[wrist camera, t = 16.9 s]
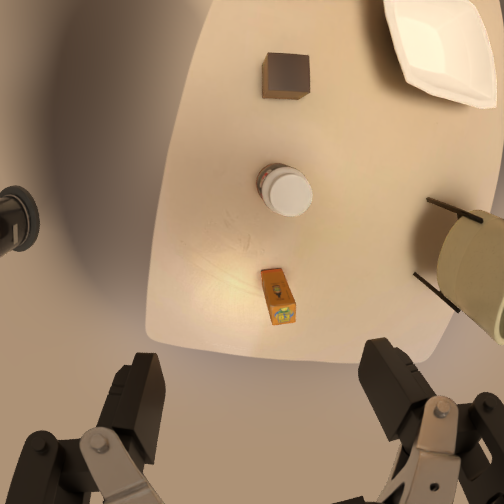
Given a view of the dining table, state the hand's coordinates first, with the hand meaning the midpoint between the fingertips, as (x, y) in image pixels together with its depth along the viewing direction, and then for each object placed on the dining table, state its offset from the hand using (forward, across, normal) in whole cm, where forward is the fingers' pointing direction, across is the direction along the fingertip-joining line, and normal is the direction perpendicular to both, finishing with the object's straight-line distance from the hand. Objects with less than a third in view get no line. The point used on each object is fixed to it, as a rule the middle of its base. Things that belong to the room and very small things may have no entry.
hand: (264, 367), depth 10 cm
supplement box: (+32, -5, +12) cm, 35 cm away
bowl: (+32, -30, -28) cm, 52 cm away
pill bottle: (+32, -6, -2) cm, 33 cm away
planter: (+32, -36, +6) cm, 49 cm away
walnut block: (+32, -6, -17) cm, 37 cm away
